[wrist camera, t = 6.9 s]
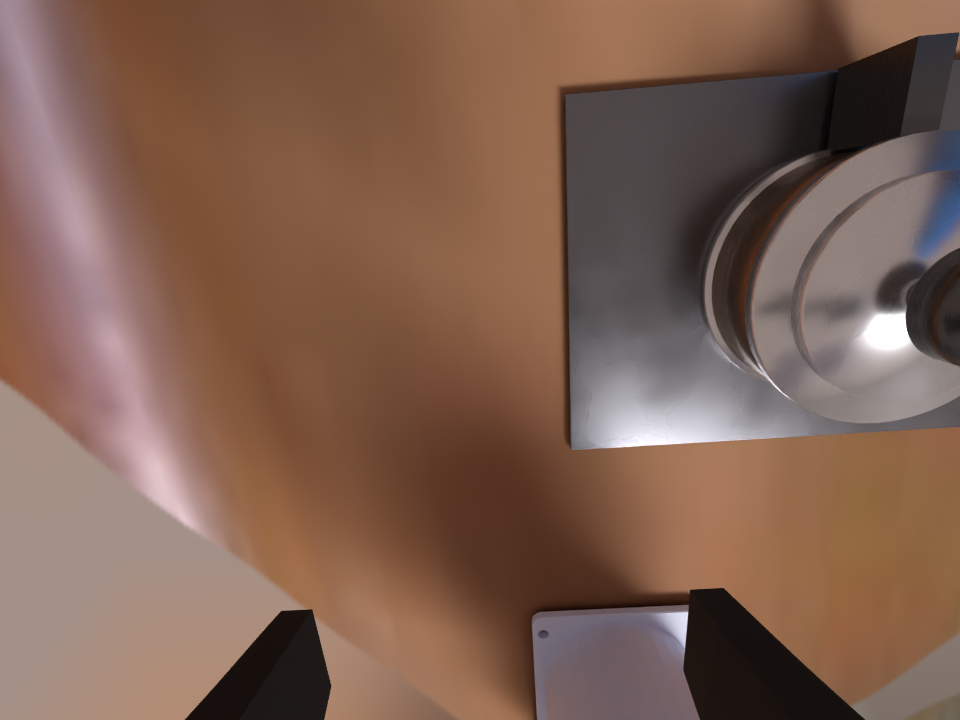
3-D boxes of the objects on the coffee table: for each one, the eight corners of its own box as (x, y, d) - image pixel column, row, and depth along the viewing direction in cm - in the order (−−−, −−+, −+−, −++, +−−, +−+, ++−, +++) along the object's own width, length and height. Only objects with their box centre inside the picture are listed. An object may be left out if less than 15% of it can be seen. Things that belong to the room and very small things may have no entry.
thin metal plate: (1017, 419, 18) (1146, 469, 15) (570, 446, 19) (589, 501, 15) (1134, 46, 14) (1350, -10, 11) (564, 96, 15) (588, 60, 12)
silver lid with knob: (991, 388, 14) (1121, 433, 11) (777, 401, 14) (851, 449, 11) (1056, 161, 12) (1235, 145, 9) (807, 181, 12) (904, 171, 9)
